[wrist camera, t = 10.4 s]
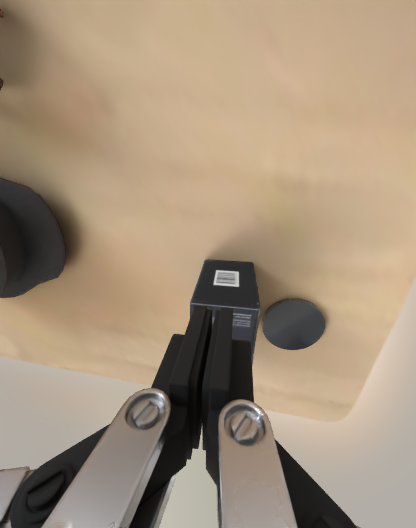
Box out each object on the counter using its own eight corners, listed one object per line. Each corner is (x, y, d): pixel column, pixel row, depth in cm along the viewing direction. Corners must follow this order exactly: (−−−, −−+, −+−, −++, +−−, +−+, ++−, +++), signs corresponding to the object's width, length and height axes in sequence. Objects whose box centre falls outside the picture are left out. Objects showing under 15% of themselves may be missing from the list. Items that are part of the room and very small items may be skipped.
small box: (184, 302, 20) (186, 390, 24) (262, 309, 19) (251, 398, 23) (202, 258, 29) (201, 326, 33) (254, 261, 29) (247, 330, 33)
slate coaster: (329, 300, 29) (331, 303, 29) (317, 349, 32) (318, 352, 32) (265, 296, 30) (265, 298, 30) (259, 344, 33) (259, 347, 33)
